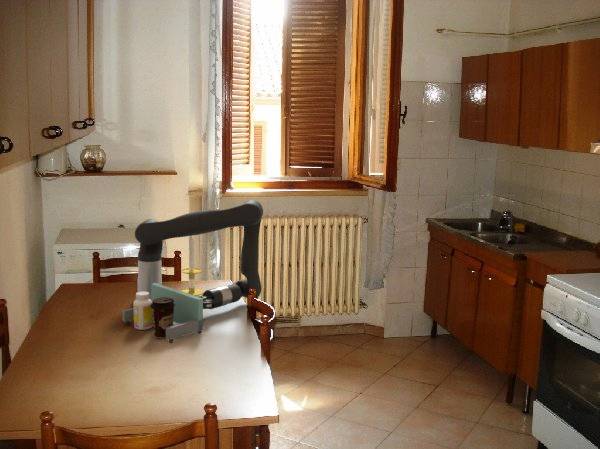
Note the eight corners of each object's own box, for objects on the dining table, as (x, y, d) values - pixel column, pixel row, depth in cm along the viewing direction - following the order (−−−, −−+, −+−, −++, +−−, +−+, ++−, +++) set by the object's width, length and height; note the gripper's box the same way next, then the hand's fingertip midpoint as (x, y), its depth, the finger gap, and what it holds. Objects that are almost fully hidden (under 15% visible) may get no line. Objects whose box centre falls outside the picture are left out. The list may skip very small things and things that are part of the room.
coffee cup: (180, 334, 242) (180, 298, 239) (166, 341, 234) (166, 304, 232) (160, 329, 245) (159, 295, 243) (146, 337, 238) (145, 301, 236)
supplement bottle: (155, 324, 251) (154, 291, 248) (149, 330, 244) (148, 296, 242) (137, 323, 251) (136, 290, 249) (131, 329, 245) (130, 295, 242)
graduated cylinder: (194, 288, 298) (194, 227, 293) (208, 293, 291) (208, 231, 286) (175, 292, 292) (174, 230, 287) (188, 297, 284) (187, 234, 279)
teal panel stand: (122, 324, 250) (121, 290, 247) (156, 315, 261) (155, 282, 258) (168, 344, 231) (168, 307, 229) (203, 333, 242) (202, 298, 240)
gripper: (206, 284, 268) (170, 293, 255) (228, 291, 259) (192, 301, 246) (206, 303, 269) (170, 312, 256) (228, 310, 260) (192, 320, 248)
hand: (181, 306), depth 251 cm, fingers closed
